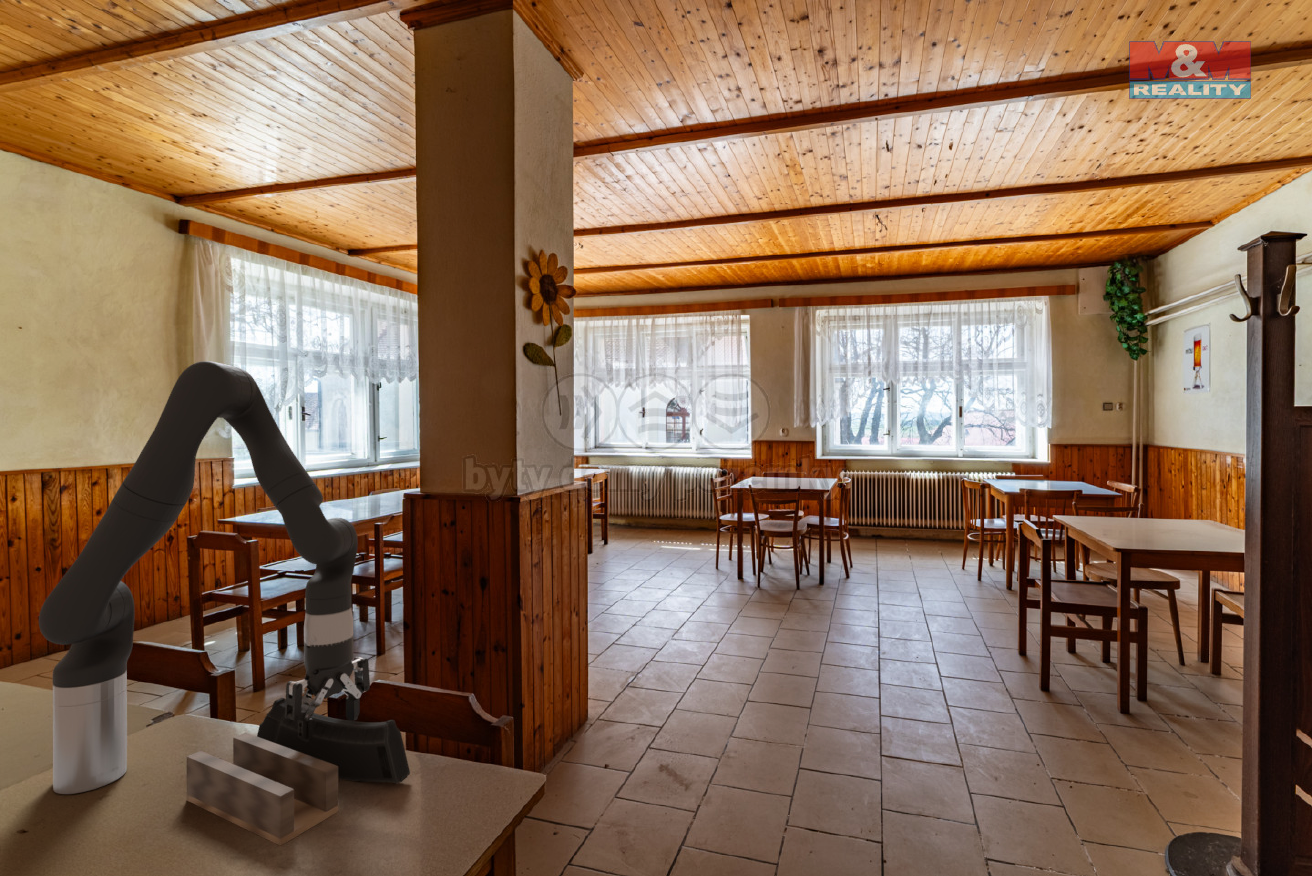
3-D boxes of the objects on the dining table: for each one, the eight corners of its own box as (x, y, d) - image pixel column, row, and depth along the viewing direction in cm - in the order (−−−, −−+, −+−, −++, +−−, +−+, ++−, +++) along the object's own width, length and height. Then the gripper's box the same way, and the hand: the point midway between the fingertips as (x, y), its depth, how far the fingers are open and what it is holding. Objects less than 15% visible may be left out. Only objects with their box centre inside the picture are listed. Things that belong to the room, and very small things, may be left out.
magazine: (422, 729, 104) (288, 659, 113) (409, 738, 101) (272, 665, 110) (398, 822, 106) (266, 745, 114) (384, 834, 103) (250, 754, 111)
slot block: (186, 800, 99) (186, 756, 99) (245, 772, 107) (245, 732, 107) (280, 845, 88) (280, 796, 88) (338, 811, 96) (338, 766, 96)
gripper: (351, 621, 116) (351, 709, 116) (274, 645, 103) (275, 743, 103) (379, 627, 113) (379, 717, 113) (303, 652, 100) (304, 753, 100)
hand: (329, 729), depth 108 cm, fingers open, 8 cm apart
